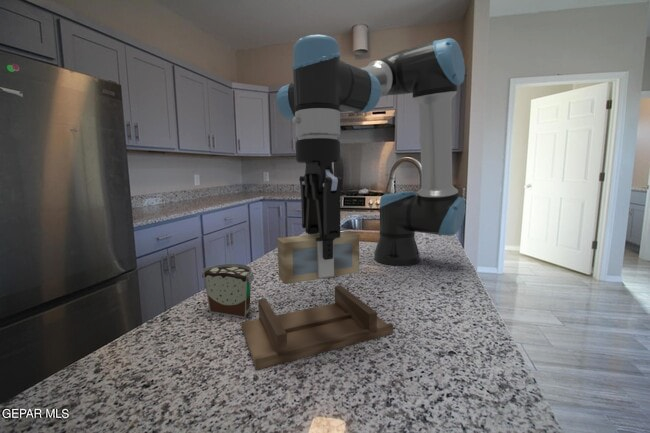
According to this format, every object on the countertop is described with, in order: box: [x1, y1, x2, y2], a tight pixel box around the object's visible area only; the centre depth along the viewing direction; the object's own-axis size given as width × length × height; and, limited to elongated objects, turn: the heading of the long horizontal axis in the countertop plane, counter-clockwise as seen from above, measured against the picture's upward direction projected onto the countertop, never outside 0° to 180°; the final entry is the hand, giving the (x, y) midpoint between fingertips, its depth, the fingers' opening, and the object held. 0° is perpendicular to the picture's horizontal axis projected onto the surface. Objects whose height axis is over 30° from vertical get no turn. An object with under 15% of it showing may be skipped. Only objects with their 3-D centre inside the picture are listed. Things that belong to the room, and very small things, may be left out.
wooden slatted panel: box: [240, 285, 394, 371], centre depth 61 cm, size 26×15×5 cm, turn 113°
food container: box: [201, 263, 255, 319], centre depth 70 cm, size 12×6×10 cm, turn 71°
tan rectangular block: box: [276, 230, 360, 285], centre depth 56 cm, size 14×4×7 cm, turn 113°
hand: (320, 271), depth 56 cm, fingers closed on tan rectangular block, 4 cm apart
